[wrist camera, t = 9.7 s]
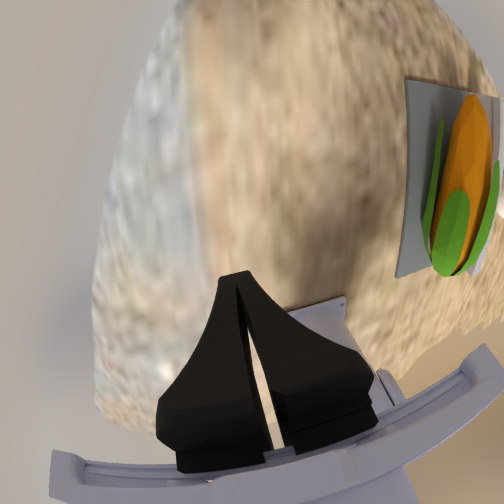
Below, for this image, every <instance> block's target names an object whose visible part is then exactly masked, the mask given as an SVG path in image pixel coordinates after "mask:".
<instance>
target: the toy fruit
mask: <svg viewBox="0 0 504 504" xmlns="http://www.w3.org/2000/svg"><path fill="white" fill-rule="evenodd" d="M443 127H444V119H443V116H442V115H441V121H440V126H439V132H438V137H437V142H436V149H435V157H434V164H433V170H432V177H431V182H430V188H429V193H428V198H427V203H426V208H425V212H424V217H423V221H422V230H423V238H424V245H425V249H426V253H427V255H428V257H429V259H430V260H431V262H432V264H433V268H434V270H435V271H436V272H437V273H438V274H440V275H442V276H444V277H449V276H455V275H459V274H461V273H462V272H463V271H465V270H466V269H468V268H469V267H471V266H472V265H474V264H475V262H476V261H477V259H478V257H479V255H480V254H481V252H482V250H483V248H484V246H485V244H486V241H487V238H488V235H489V232H490V229H491V226H492V223H493V219H494V216H495V211H496V206H497V201H498V196H499V190H500V164H499V160H497V161H496V162H495V165H494V170H493V177H492V139H491V133H490V128H489V123H488V119H487V114H486V111H485V109H484V107H483V106H482V104H481V102H480V100H479V99H478V97H477V95H476V94H472V95H467V96H466V98H465V100H464V102H463V104H462V107H461V109H460V111H459V113H458V115H457V118H456V120H455V122H454V124H453V128H452V133H451V137H450V141H449V146H448V150H447V156H446V161H445V166H444V171H443V177H442V182H441V187H440V193H439V197H438V202H437V206H436V211H435V215H434V219H433V223H432V227H431V222H432V216H433V210H434V203H435V195H436V187H437V180H438V172H439V163H440V153H441V145H442V137H443ZM491 177H492V183H491ZM430 227H431V231H430ZM429 233H430V252H431V254H430V252H429V248H428V238H429ZM431 256H432V257H431Z"/></svg>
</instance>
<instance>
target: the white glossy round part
mask: <svg viewBox="0 0 504 504" xmlns="http://www.w3.org/2000/svg"><path fill="white" fill-rule="evenodd" d="M496 214H497V215H499V216H500V217H502V218H503V219H504V172H503V178H502V185H501V191H500V196H499V202H498V207H497V211H496Z"/></svg>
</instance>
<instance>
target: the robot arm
mask: <svg viewBox="0 0 504 504" xmlns="http://www.w3.org/2000/svg"><path fill="white" fill-rule="evenodd" d="M346 301H347V300H346V298H345V297H344V296H342V297H338V298H335V299H332V300H329V301H325V302H322V303H319V304H315V305H312V306H308V307H305V308H302V309H298V310H294V311H291V312H286V311H284V310H283V309H282V308H281V307H280V306H279V305H278V304H277V303H276V302H275V301H273V300H272V299H271V297H270V296H269V295H268V294H267V293H266V292H265V291H264V290H263V289H262V288H261V287H260V285H259V284H258V283H257V281H256V280H255V279H254V277H253V276H252V274H251V272H250V271H248V270H246V271H242V272H238V273H234V274H230V275H226V276H221V277H220V278H219V279H218V287H217V292H216V296H215V300H214V304H213V307H212V311H211V314H210V316H209V319H208V322H207V325H206V327H205V330H204V332H203V334H202V336H201V338H200V341H199V343H198V345H197V346H196V348H195V350H194V352H193V354H192V356H191V357H190V359H189V361H188V362H187V364H186V365H185V367H184V368H183V369H182V371H181V372H180V374H179V375H178V377H177V378H176V379H175V381H174V382H173V383H172V384H171V386H170V387H169V388H168V389H167V390H166V392H165V393H164V394H163V395H162V396H161V397H160V398H159V400H158V406H157V412H156V436H157V439H158V440H160V441H161V442H162V443H163V444H165V445H166V446H168V447H169V448H171V449H172V450H174V451H175V452H176V462H177V464H159V465H157V464H156V465H149V464H148V465H145V464H144V465H143V464H141V465H140V464H119V463H108V462H98V461H90V460H84V459H83V458H82V457H80V456H78V455H75V454H73V453H69V452H64V451H59V450H52V456H51V467H50V482H49V496H50V497H51V498H54V499H57V500H60V501H63V502H66V503H69V504H420V502H419V500H418V498H417V496H416V493H415V491H414V489H413V486H412V484H411V482H410V480H409V478H408V475H407V473H406V471H405V469H404V466H405V465H407V464H409V463H410V462H412V461H414V460H416V459H417V458H419V457H421V456H422V455H424V454H425V453H427V452H429V451H430V450H431V449H433V448H435V447H436V446H438V445H439V444H441V443H442V442H443V441H445V440H446V439H448V438H449V437H450V436H452V435H453V434H455V433H456V432H457V431H459V430H460V429H461V428H462V427H464V426H465V425H466V424H467V423H469V422H470V421H471V420H472V419H474V418H475V417H476V416H477V415H478V414H479V413H480V412H482V411H483V410H484V409H485V408H486V407H487V406H488V405H489V404H491V402H493V401H494V399H496V397H498V396H499V395H500V394H501V393H502V391H504V368H503V367H502V365H501V364H500V363H499V361H498V360H497V359H496V357H495V356H494V355H493V354H492V352H491V351H490V350H489V348H488V347H487V346H486V344H485V343H484V344H482V345H480V346H479V347H478V348H477V349H475V350H474V351H473V352H471V353H470V354H469V355H468V356H467V357H466V358H465V359H464V360H463V362H462V363H461V365H460V367H459V368H458V369H456V370H455V371H453V372H452V373H450V374H449V375H447V376H446V377H444V378H443V379H441V380H440V381H438V382H436V383H435V384H433V385H432V386H430V387H428V388H427V389H425V390H423V391H421V392H420V393H418V394H416V395H414V396H413V397H411V398H409V399H407V400H406V399H405V397H404V395H403V393H402V392H401V389H400V388H399V386H398V384H397V382H396V381H395V379H394V378H393V376H392V375H391V373H390V372H389V371H388V370H383V369H382V368H380V369H378V370H377V371H376V373H377V375H378V377H379V379H380V380H379V379H378V377H377V375H376V374H375V372H374V370H373V368H372V367H371V365H370V364H368V362H367V360H366V359H365V357H364V355H363V353H362V352H361V350H360V348H359V346H358V345H357V343H356V341H355V339H354V338H353V336H352V334H351V333H350V331H349V329H348V327H347V326H346V324H345V322H344V320H345V311H346ZM247 327H248V329H247ZM248 330H249V333H250V335H251V338H252V341H253V343H254V346H255V349H256V352H257V354H258V357H259V359H260V362H261V365H262V368H263V371H264V374H265V378H266V381H267V385H268V389H269V392H270V396H271V400H272V403H273V407H274V411H275V414H276V418H277V421H278V424H279V428H280V432H281V435H282V439H283V442H284V446H285V447H284V448H280V449H276V450H274V447H273V443H272V440H271V436H270V433H269V429H268V425H267V422H266V418H265V414H264V411H263V407H262V403H261V399H260V395H259V391H258V388H257V384H256V380H255V376H254V371H253V365H252V358H251V350H250V343H249V336H248ZM206 480H213V481H212V482H210V483H209V482H208V481H206Z"/></svg>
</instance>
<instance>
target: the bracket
mask: <svg viewBox="0 0 504 504" xmlns="http://www.w3.org/2000/svg"><path fill="white" fill-rule="evenodd" d="M405 89H406V102H407V122H408V166H407V186H406V200H405V211H404V220H403V228H402V236H401V243H400V250H399V256H398V262H397V268H396V273H395V278H396V279H397V278H400V277H403V276H406V275H408V274H411V273H413V272H416V271H419V270H421V269H424V268H426V267H429V266H431V265H433V264H432V262H431V260H430V259H429V257H428V255H427V253H426V249H425V245H424V238H423V230H422V221H423V217H424V212H425V208H426V203H427V198H428V193H429V188H430V182H431V177H432V170H433V164H434V157H435V149H436V142H437V137H438V132H439V126H440V121H441V115H442V116H443V119H444V127H443V137H442V145H441V153H440V163H439V172H438V180H437V187H436V195H435V203H434V210H433V216H432V222H431V227H432V223H433V219H434V215H435V211H436V206H437V202H438V197H439V193H440V187H441V182H442V177H443V171H444V166H445V161H446V156H447V150H448V146H449V141H450V137H451V133H452V128H453V124H454V122H455V120H456V118H457V115H458V113H459V111H460V109H461V107H462V104H463V102H464V100H465V98H466V96H467V95H472V94H476V95H477V97H478V99H479V100H480V102H481V104H482V106H483V107H484V109H485V111H486V114H487V119H488V123H489V128H490V133H491V139H492V177H493V170H494V165H495V162H496V161H497V160H499V164H500V190H499V196H500V191H501V185H502V178H503V170H504V100H502V99H499V98H496V97H491V96H487V95H482V94H478V93H473V92H468V91H464V90H460V89H456V88H451V87H447V86H442V85H437V84H432V83H426V82H420V81H414V80H405ZM492 177H491V183H492ZM499 196H498V201H497V206H496V211H497V207H498V202H499ZM496 211H495V216H496ZM495 216H494V219H493V223H492V226H491V229H490V232H489V235H488V238H487V241H486V244H485V246H484V248H483V250H482V252H481V254H480V255H479V257H478V259H477V261H476V262H475V264H474V265H472V266H471V267H469V268H468V269H466V271H467V272H468V273H469V274H470V275H471V276H473V275H475V274H477V273H479V271H480V268H481V265H482V262H483V259H484V256H485V253H486V250H487V246H488V243H489V239H490V236H491V232H492V228H493V224H494V220H495ZM431 227H430V231H431ZM428 248H429V252H430V233H429V238H428ZM430 254H431V252H430ZM431 257H432V256H431Z"/></svg>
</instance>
